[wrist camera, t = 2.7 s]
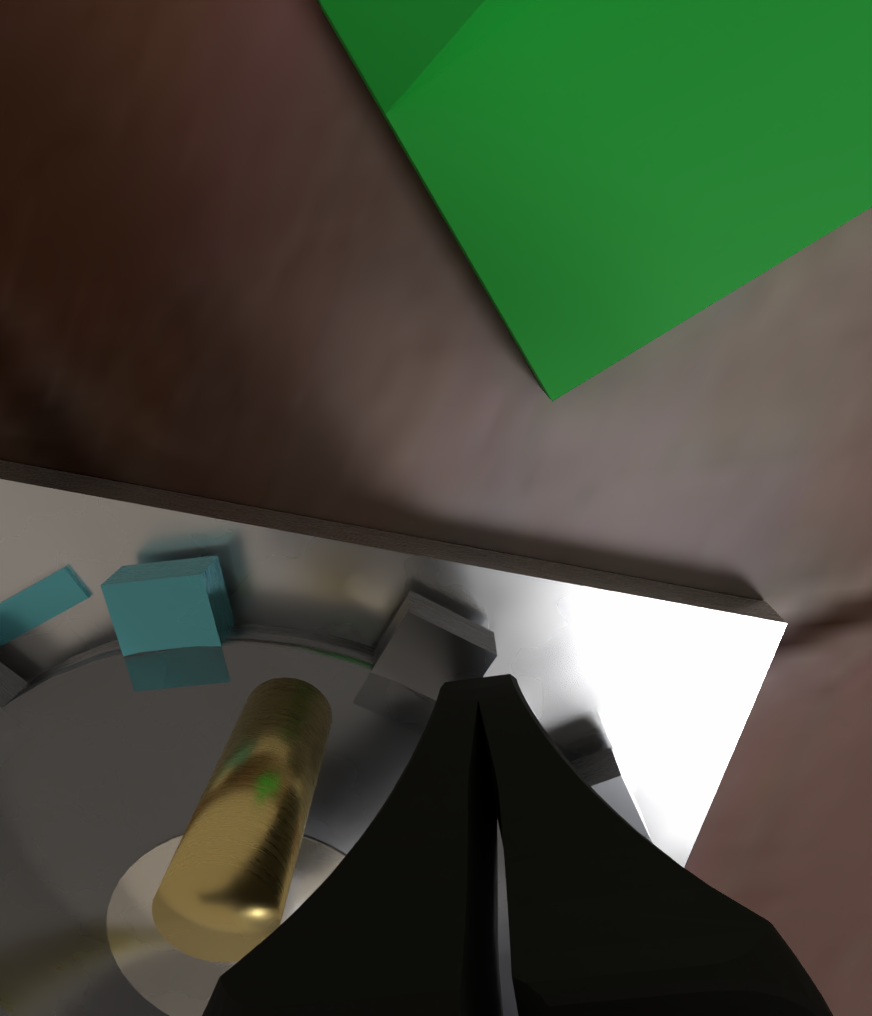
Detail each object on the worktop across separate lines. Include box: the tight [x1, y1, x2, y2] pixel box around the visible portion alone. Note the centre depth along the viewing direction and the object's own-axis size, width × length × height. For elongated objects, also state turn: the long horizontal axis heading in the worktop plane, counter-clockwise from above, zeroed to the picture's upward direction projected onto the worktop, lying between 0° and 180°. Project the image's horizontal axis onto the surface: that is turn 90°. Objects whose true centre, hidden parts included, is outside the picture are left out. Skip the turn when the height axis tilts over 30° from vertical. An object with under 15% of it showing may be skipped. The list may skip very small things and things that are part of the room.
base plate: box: [0, 460, 787, 867], centre depth 17 cm, size 20×20×1 cm
